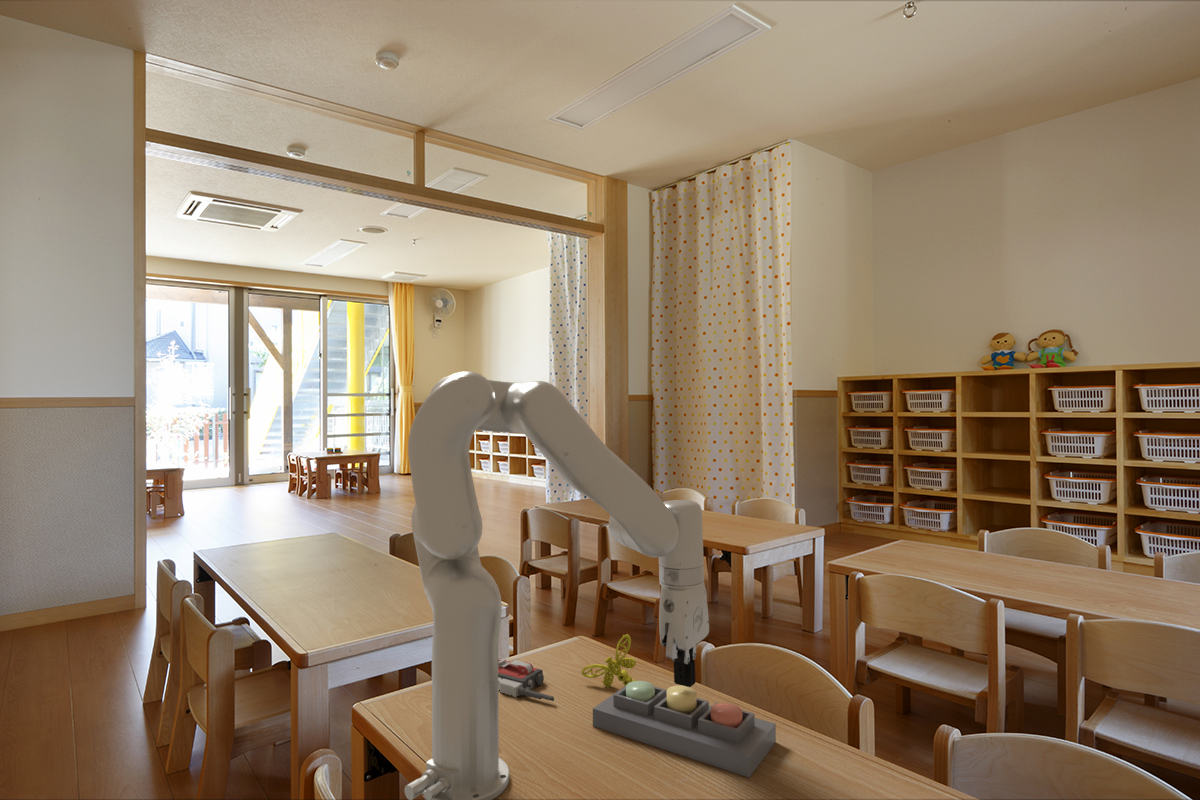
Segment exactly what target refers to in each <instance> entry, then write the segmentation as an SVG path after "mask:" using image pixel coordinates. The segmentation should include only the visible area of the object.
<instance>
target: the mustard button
mask: <svg viewBox="0 0 1200 800" xmlns="http://www.w3.org/2000/svg"><path fill="white" fill-rule="evenodd" d="M666 690H667V708H668V709H671V710H674V711H678V712H681V713H685V714H689V713H692V712H693V711H694V710H695V709H697V698H698V695H697V690H696V689H695V688H693V687H692V686H691V687H686V686H682V685H678V684H676V685H672V686H670V687H668V688H667V689H666Z"/></svg>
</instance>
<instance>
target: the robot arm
mask: <svg viewBox="0 0 1200 800" xmlns="http://www.w3.org/2000/svg"><path fill="white" fill-rule="evenodd" d="M476 431H483V432H491V433H492V432H493V433H506V434H507V433H510V434H523V435H525V437H527V439H528V440H529V441H530V442H531V443H532V445H534V447H535V448H536V449H537V450H538V451H539V452H540V454H541V455H542V456H543V457H544V458H545V459H546V460H547V461H548V462H549V464H550V465H551V466H552V467H553V469H554V470H555V471H556V472H557V474H559V476H560V477H561V478H562V479H563V480H564V482H566V483H567V484H568V485H569V486H571V488H573V489H574V490H576V492H578V493H580V494H581V495H583V496H585V497H587V498H588V499H590V500H591V501H592V502H594V503H596V504H597V505H599V506H600V508H602V509H603V510H604V511H605V512H606V513H608V515H610V516H609V518H608V529H609V533H610V535H611V536H612V538H613V539H614V540H615V541H616V542H617V543H619V544H620V545H622V546H623V547H626V548H629V549H630V550H632V551H635V552H638V553H640V554H642V555H643V556H646V557H649V558H658V574H659V575H658V576H659V578H658V579H659V585H660V594H659V596H660V597H659V610H658V611H659V614H658V615H659V616H658V617H659V619H658V620H659V621H658V623H659V624H658V626H659V629H658V631H659V641H660V645H661V646H662V647H664V648H665V658H668V659H671V660H672V661H673V682H674V684H675V685H682V686H686V687H691V688H692V687H693V686H694V685H695V684H696V683H697V681H696V679H697V678H696V657H697V645H698V643H700V642H702V641H703V640H704V639H705V638H707V636H708V635H709V632H710V618H709V609H708V599H707V598H708V596H707V590H706V585H705V566H704V565H705V563H704V562H705V561H704V538H703V537H704V534H703V529H704V528H703V510H702V507H701V505H700V504H699V503H698V502H696V501H694V500H691V499H690V500H688V499H672V500H665V501H662V499H661V498H660V497H659V496H658V494H657V493H656V492H655V491H654V490H653V488H652V487H651V486H650V485H649V484H648V483H647V482H646V481H645V480H644V479H643V478H642V477H640V476H639V475H638V474H637V473H636V472H635V471H634V470H633V469H632V468H631V467H630V466H629V465H627V464H626V462H624V461H623V460H622V459H621V458H620V457H619V456H618V455H617V454H615V452H613V451H612V450H611V449H610V448H609V447H608V446H607V445H606V444H605V443H604V442H603V441H602V439H601V438H600V437H599V436H598V435H597V434H596V432H595V431H594V430H593V429H592V427H590V425H589V424H588V423H587V421H586V420H585V419H584V417H582V416H581V414H580V413H579V412H578V411H577V409H576V408H575V407H574V406H573V404H572V403H571V402H570V401H569V400H568V399H567V398H566V396H565V395H564V393H562V392H561V390H559V389H558V388H557V387H556V386H555V385H553V384H551V383H550V382H547V381H542V380H539V381H538V380H533V381H528V382H509V381H500V380H499V381H498V380H491V379H487V378H486V377H485V376H483V375H482V374H479V373H478V372H475V371H469V370H468V371H467V370H465V371H464V370H463V371H458V372H454V373H452V374H450V375H448V376H447V375H446V376H444V377H442V378H441V379H439V380H438V381H437V382H436V383H435V384H434V386H432V389H431V390H430V392H429V395H428V396H427V397H426V398H425V400H424V401H423V402H422V404H421V405H420V407H419V408H418V410H417V413H416V414H415V417H414V419H413V421H412V424H411V426H410V430H409V435H408V441H407V442H408V443H407V444H408V445H407V453H408V454H407V455H408V462H409V469H410V475H411V477H410V478H411V483H412V490H413V495H414V503H415V505H414V507H413V509H412V512H411V531H412V535H413V536H412V537H413V541H414V545H415V546H414V547H415V551H416V552H415V553H416V556H417V560H418V561H417V562H418V566H419V572H420V576H421V581H422V585H423V590H424V593H425V596H426V599H427V601H428V603H429V606H430V608H431V610H432V619H433V621H432V627H433V628H432V629H433V630H432V642H431V643H432V645H431V646H432V647H431V716H432V717H431V743H432V744H431V758H430V759H429V760H427V761H426V762H425V763H426V765H425V766H426V770H425V771H423V773H422V774H421V777H419V778H417V779H415V780H413V781H411V782H410V783H408V784H406V785H405V787H404V796H405V797H406V798H407V800H414V799H416V798H417V797H418V796H420V795H422V797H423V798H424V800H494V799H496V798H497V797H498V796H500V795H501V794H502V793H503V792H504V791H505V790H506V788H507V787H508V785H509V782H510V769H509V768H510V767H509V766H508V764H507V763H506V761H504V760H503V759H502V758H500V756H499V752H500V751H499V745H500V744H499V739H500V738H499V732H500V730H499V690H498V660H499V645H500V644H499V639H500V631H501V622H502V621H501V620H502V610H503V609H502V608H503V607H502V605H503V604H502V596H501V593H500V589H499V586H498V583H496V580H495V579H494V577H493V576H492V575H491V574H490V573H489V571H487V569H486V568H484V567H483V565H482V561H481V558H480V551H479V547H478V545H479V543H480V541H481V539H482V534H483V520H482V519H483V518H482V515H481V512H480V507H479V504H478V498H477V494H476V489H475V485H474V480H473V474H472V466H471V459H470V446H471V443H472V442H471V441H472V438H473V436H474V435H475V432H476ZM423 794H424V795H423Z"/></svg>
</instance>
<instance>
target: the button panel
mask: <svg viewBox="0 0 1200 800" xmlns="http://www.w3.org/2000/svg"><path fill="white" fill-rule="evenodd" d="M709 702H710V701H709V700H708V699H707V700H706V699H703V698H700V697H699V698H698V697H697V709H695V710H694V711H693V712H692V713H689V714H685V713H681V712H678V711H674V710H671V709H668V708H667V689H665V688H661V687H657V686H655V696H654V697H653V698H652V699H650V700H649V701H648V702H643V701H639V700H636V699H632V698H629V697H626V686H625V685H624V686H622V687H621V688H620V689H619V690H617V691H616V692H614V693H613V694H612V695H610V696H609V697H607V698H606V699H604V700H603V701H601V702H600V703H599V704H597V705H596V706H594V707H593V708H592V726H593V727H594V728H598V729H599V730H603V731H607V732H610V733H612V734H615V735H619V736H622V737H624V738H628V739H631V740H634V741H637V742H640V743H642V744H646V745H649V746H652V747H654V748H659V749H661V750H664V751H666V752H667V751H668V752H670V753H672V754H676V755H680V756H682V757H686V758H689V759H692V760H695V761H697V762H701V763H703V764H707V765H710V766H713V767H715V768H719V769H722V770H725V771H728V772H732V773H733V774H737V775H740V776H743V777H747V778H751V776H752V775H753V773H754V772H755V771H756V770H757V768H758V767H759V766H760V764H761V763H762V762H763V760H764V758H765V757H766V756H767V755H768V753H769V752H770V751H771V749H773V747H774V745H775V744H776V742H777V740H776V739H777V735H776V734H777V733H776V732H777V731H776V729H777V728H776V725H777V724H776V723H775V722H772V721H768V720H765V719H760V718H756V717H755V713H754V712H751V711H747V710H743V709H742V719H743V722H742V723H741V724H740V725H739V726H738V727H737V728H733V727H730V726H726V725H723V724H719V723H716V722H712V721H711V707H712V706H713V705H715V704H719V703H718V702H715V703H713V705H710V703H709ZM774 743H775V744H774ZM772 746H773V747H772Z"/></svg>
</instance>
